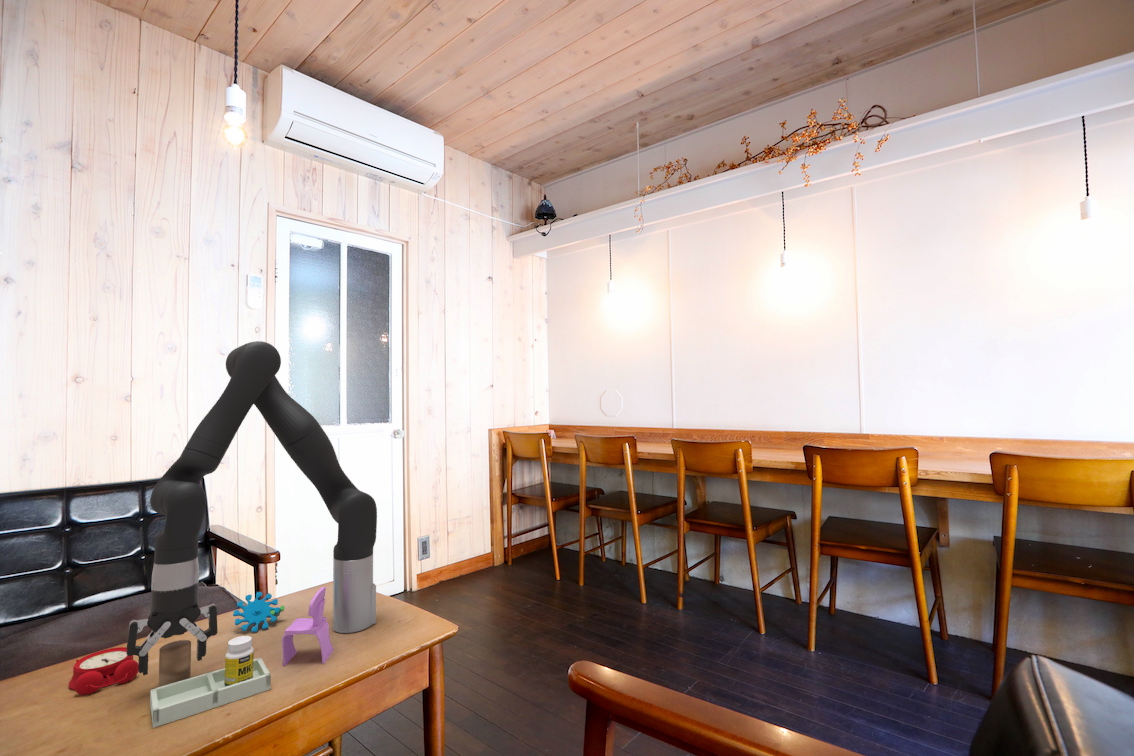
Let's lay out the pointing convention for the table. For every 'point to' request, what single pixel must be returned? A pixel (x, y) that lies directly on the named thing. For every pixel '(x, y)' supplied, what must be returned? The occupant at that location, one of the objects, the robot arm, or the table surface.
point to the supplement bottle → (239, 660)
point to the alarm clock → (102, 670)
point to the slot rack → (204, 693)
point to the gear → (257, 612)
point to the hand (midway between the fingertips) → (172, 666)
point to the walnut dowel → (174, 662)
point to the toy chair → (309, 629)
